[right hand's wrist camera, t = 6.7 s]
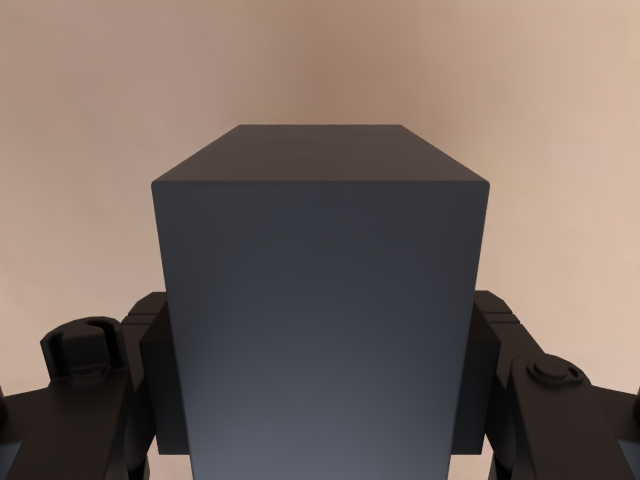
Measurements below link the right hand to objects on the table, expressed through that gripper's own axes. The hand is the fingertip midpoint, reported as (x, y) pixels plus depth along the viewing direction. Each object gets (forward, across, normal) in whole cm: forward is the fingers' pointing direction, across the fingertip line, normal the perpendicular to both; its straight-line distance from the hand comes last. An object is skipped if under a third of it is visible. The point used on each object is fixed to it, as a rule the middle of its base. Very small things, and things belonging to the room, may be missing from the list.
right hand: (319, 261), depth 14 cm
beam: (0, 0, -34) cm, 34 cm away
